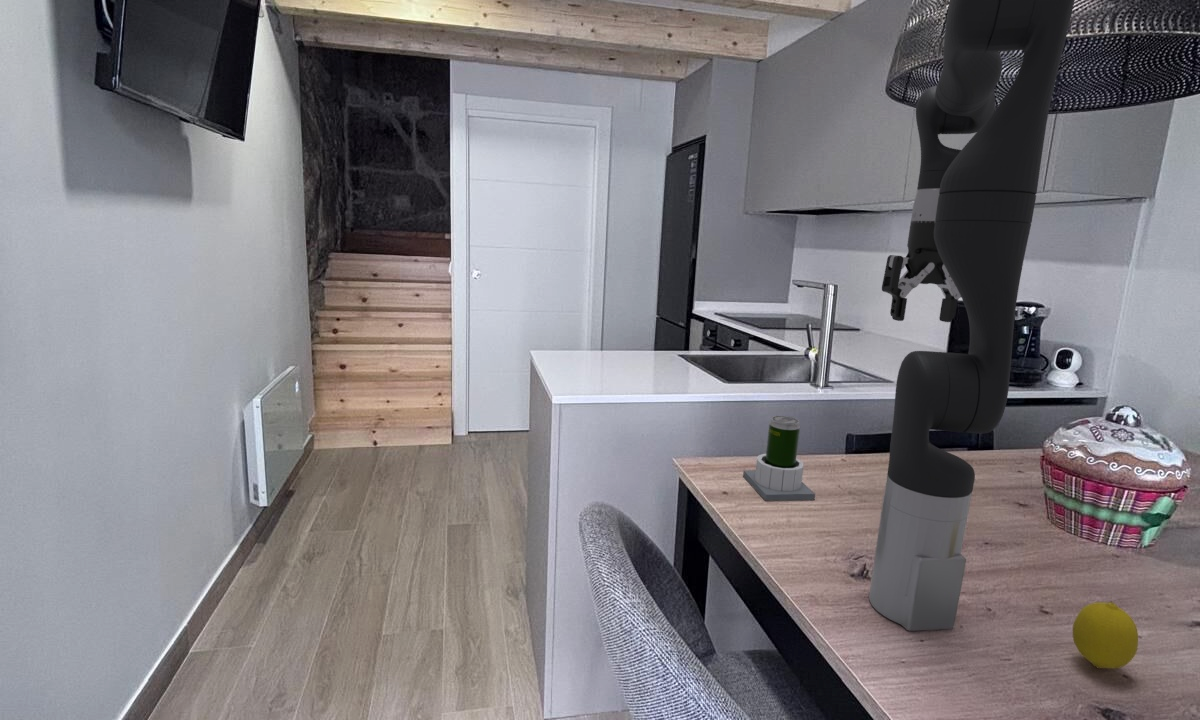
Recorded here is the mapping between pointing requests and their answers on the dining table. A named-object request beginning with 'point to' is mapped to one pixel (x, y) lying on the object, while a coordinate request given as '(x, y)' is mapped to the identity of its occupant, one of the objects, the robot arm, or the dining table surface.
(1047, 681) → the dining table surface
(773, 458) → the beer can
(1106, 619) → the lemon
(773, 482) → the flanged pipe fitting
